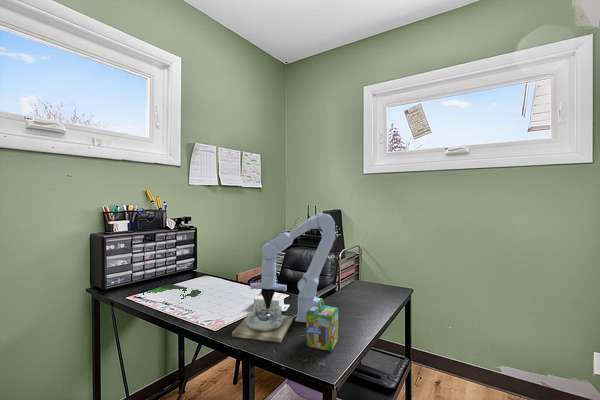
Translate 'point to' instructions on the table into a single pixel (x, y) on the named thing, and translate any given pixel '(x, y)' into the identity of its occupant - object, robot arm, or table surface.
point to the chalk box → (322, 326)
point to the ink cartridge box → (276, 301)
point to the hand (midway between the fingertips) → (268, 307)
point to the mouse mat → (171, 286)
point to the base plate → (267, 336)
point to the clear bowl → (264, 319)
